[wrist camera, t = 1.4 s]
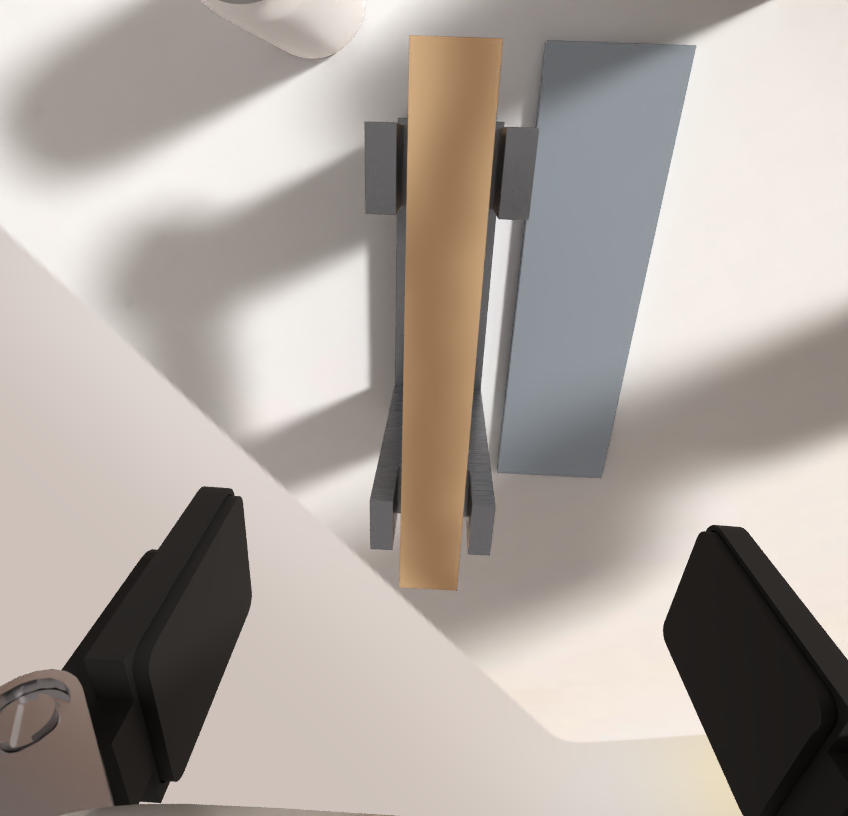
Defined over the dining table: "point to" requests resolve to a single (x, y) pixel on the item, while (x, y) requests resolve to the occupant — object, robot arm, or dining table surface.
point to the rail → (443, 290)
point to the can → (296, 22)
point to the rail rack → (390, 197)
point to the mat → (587, 246)
